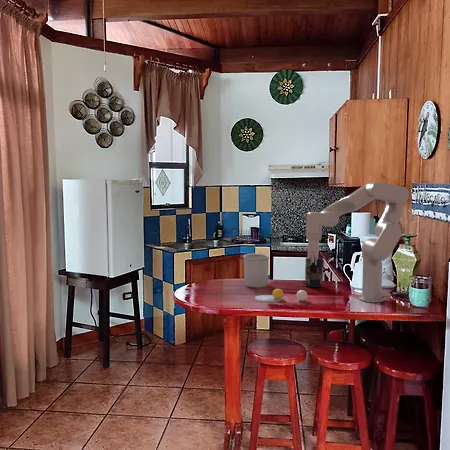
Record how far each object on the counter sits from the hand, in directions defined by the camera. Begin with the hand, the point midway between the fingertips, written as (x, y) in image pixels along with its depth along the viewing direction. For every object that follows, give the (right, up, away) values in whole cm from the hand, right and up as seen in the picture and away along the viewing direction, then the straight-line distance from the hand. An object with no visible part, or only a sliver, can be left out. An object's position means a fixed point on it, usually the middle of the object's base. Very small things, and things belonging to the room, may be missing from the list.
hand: (313, 272), depth 228 cm
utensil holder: (-26, -12, +38) cm, 48 cm away
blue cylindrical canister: (+7, -12, +34) cm, 36 cm away
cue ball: (-5, -12, +3) cm, 14 cm away
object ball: (-17, -12, +6) cm, 22 cm away
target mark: (-22, -15, +7) cm, 28 cm away
